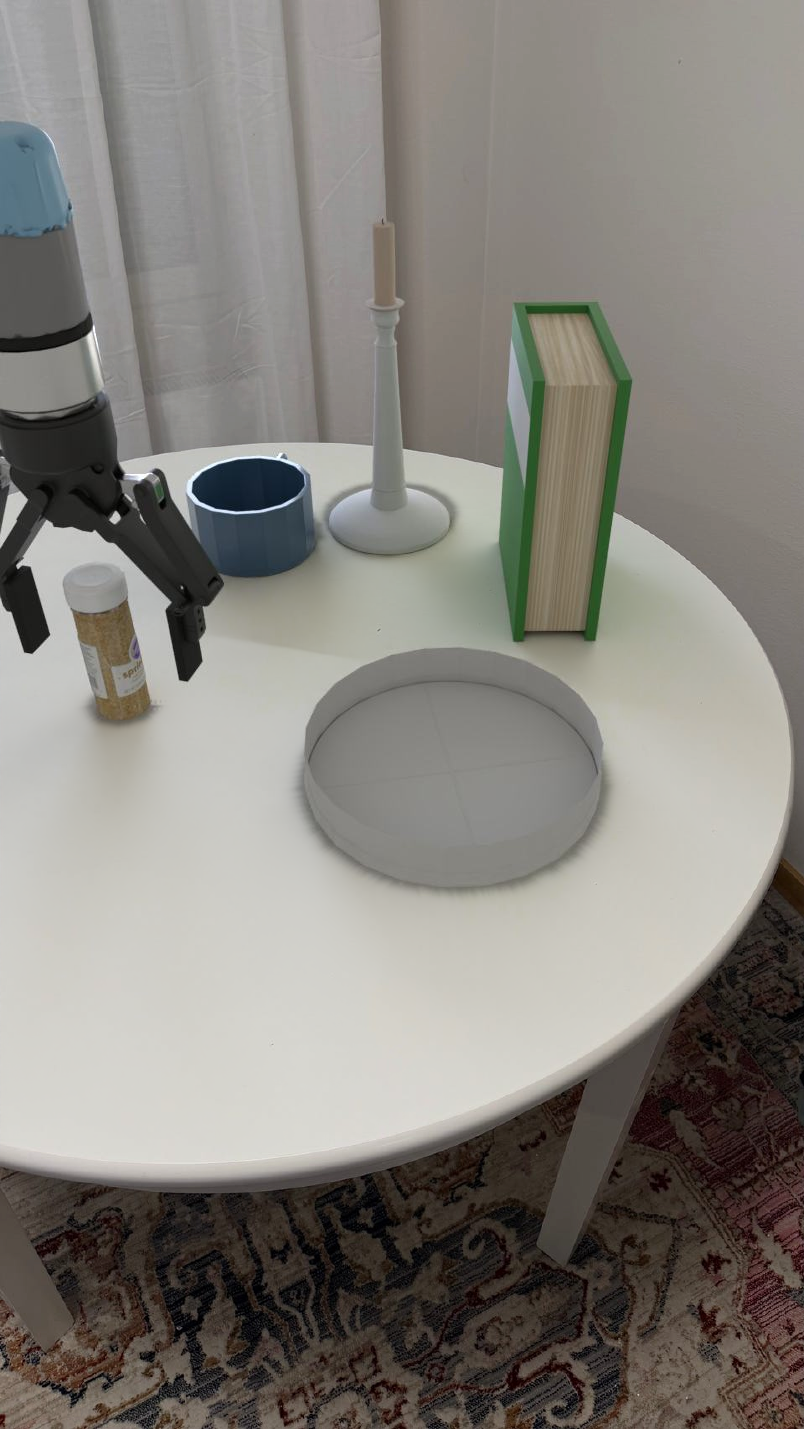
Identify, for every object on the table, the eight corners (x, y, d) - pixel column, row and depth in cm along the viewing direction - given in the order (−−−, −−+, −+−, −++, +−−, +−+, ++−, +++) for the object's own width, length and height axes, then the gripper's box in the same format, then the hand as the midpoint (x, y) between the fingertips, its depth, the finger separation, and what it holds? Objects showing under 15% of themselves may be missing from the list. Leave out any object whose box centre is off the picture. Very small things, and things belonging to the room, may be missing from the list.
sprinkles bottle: (154, 727, 82) (123, 588, 73) (97, 735, 81) (59, 595, 73) (153, 692, 85) (124, 556, 77) (98, 700, 85) (62, 562, 76)
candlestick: (412, 566, 100) (410, 247, 81) (305, 535, 105) (280, 227, 86) (470, 511, 109) (481, 210, 89) (369, 484, 114) (359, 194, 94)
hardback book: (595, 640, 91) (632, 380, 75) (513, 641, 91) (533, 381, 75) (570, 540, 104) (597, 301, 89) (498, 541, 104) (513, 302, 89)
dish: (551, 679, 86) (556, 632, 83) (641, 874, 70) (652, 824, 66) (292, 710, 83) (287, 662, 80) (322, 920, 67) (317, 870, 64)
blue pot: (290, 585, 98) (284, 521, 94) (176, 567, 101) (164, 504, 96) (340, 510, 109) (337, 450, 105) (236, 496, 112) (229, 437, 107)
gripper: (247, 394, 66) (277, 654, 80) (-78, 358, 71) (2, 608, 85) (198, 442, 60) (239, 713, 74) (-150, 400, 66) (-52, 659, 80)
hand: (112, 657), depth 80 cm, fingers open, 13 cm apart
